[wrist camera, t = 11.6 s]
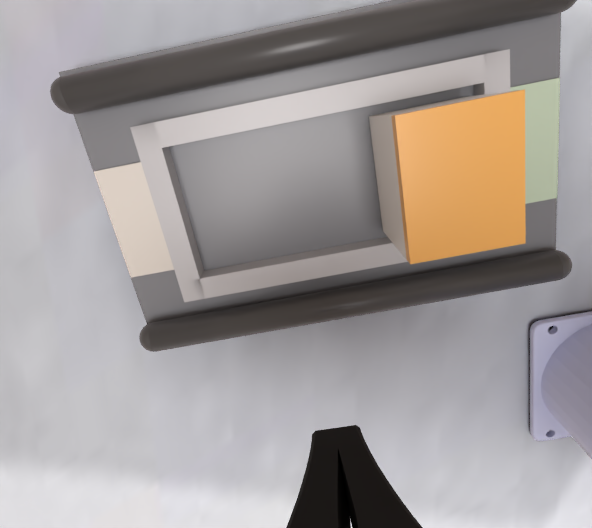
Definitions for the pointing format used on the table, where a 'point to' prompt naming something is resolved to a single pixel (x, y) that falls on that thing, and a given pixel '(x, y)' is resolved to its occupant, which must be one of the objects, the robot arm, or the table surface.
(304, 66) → the panel
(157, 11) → the table surface
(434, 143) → the orange-faced white block
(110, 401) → the table surface
